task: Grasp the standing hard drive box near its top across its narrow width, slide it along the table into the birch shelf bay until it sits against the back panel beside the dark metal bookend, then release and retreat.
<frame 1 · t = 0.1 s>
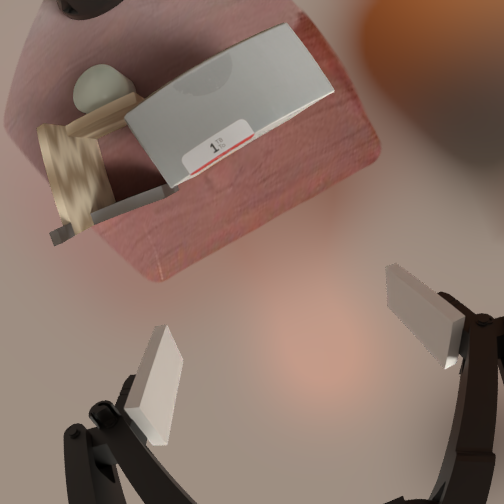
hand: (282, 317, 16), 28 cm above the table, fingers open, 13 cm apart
hard drive box: (229, 125, 39), on the table
shelf bay: (137, 157, 39), on the table
pale green rounded part: (114, 97, 36), on the table
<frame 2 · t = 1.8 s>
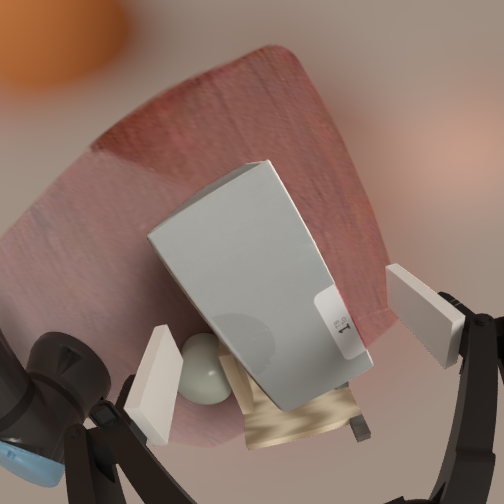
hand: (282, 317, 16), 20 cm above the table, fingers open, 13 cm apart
hard drive box: (251, 232, 35), on the table
shelf bay: (277, 330, 39), on the table
pale green rounded part: (206, 352, 40), on the table
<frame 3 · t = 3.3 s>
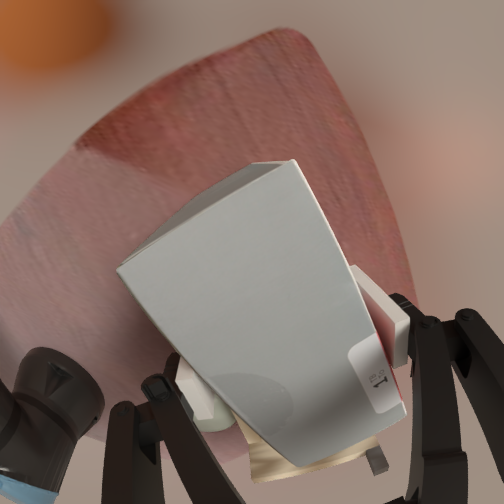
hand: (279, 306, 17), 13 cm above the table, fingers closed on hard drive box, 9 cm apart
hard drive box: (259, 243, 30), on the table, touching gripper
shelf bay: (286, 350, 35), on the table
pale green rounded part: (208, 374, 35), on the table
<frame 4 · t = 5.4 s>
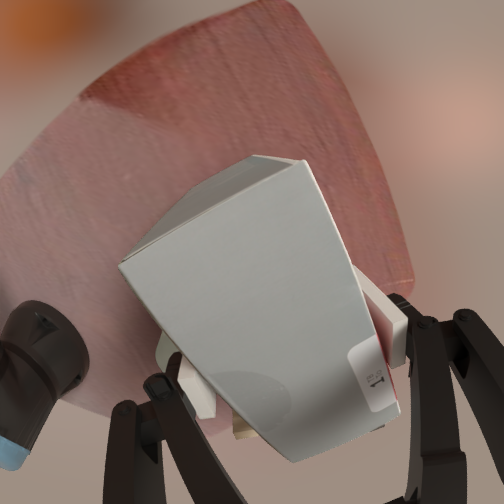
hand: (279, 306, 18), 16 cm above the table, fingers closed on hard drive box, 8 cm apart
hard drive box: (257, 235, 30), point 2 cm above the table, touching gripper
shelf bay: (274, 300, 35), on the table
pale green rounded part: (194, 325, 35), on the table
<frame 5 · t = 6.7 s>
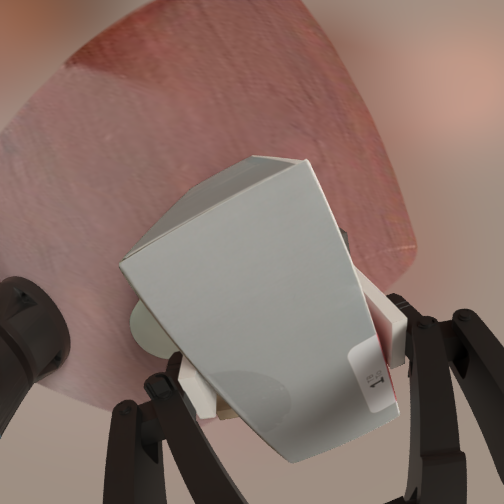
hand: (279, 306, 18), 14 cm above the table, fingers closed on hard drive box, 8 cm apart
hard drive box: (256, 236, 30), point 1 cm above the table, touching gripper
shelf bay: (264, 266, 32), on the table
pale green rounded part: (177, 297, 33), on the table
when the fingers open (14 cm above the table, at t = 7.7 s): hard drive box stays where it is, on the table.
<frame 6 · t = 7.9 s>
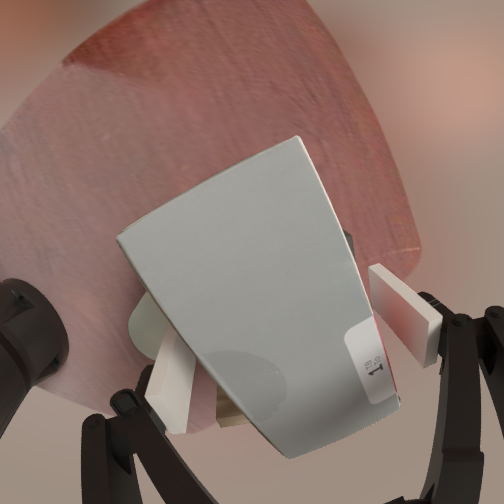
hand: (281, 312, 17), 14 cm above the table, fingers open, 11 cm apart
hard drive box: (256, 235, 30), on the table
shelf bay: (266, 269, 31), on the table
pale green rounded part: (177, 300, 32), on the table
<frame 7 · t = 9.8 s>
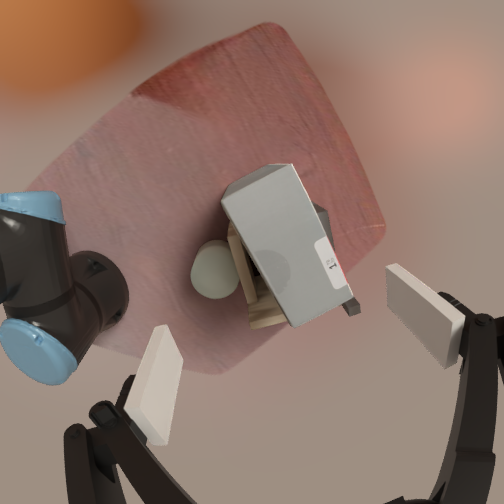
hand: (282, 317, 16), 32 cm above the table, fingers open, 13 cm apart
hard drive box: (270, 215, 47), on the table
shelf bay: (277, 238, 48), on the table
pale green rounded part: (217, 260, 48), on the table
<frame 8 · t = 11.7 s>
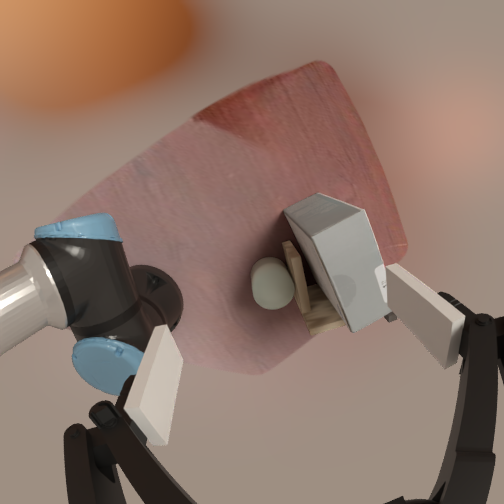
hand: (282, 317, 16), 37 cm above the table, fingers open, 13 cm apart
hard drive box: (316, 236, 54), on the table
shelf bay: (321, 255, 55), on the table
pale green rounded part: (269, 274, 55), on the table
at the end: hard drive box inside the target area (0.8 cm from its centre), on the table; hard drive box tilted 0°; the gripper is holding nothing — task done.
